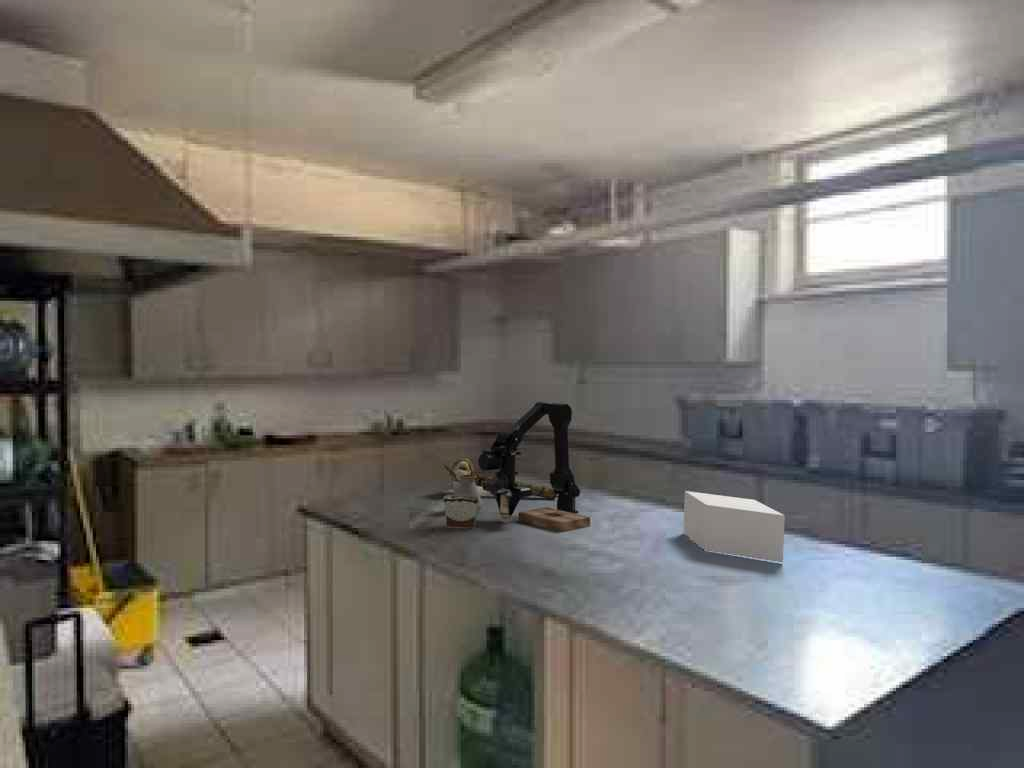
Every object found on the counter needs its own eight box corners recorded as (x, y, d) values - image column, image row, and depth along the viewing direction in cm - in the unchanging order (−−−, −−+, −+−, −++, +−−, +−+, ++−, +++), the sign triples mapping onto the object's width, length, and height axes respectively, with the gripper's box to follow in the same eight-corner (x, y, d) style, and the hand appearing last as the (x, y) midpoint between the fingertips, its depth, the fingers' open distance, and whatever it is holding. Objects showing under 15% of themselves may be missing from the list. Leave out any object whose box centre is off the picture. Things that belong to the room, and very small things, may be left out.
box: (706, 531, 250) (707, 488, 249) (806, 561, 215) (808, 512, 215) (659, 537, 240) (661, 493, 239) (757, 569, 205) (759, 518, 205)
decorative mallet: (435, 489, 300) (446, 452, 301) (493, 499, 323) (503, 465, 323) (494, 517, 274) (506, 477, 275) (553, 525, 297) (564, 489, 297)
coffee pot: (489, 512, 269) (490, 471, 268) (462, 516, 262) (463, 473, 261) (456, 502, 286) (456, 463, 285) (430, 505, 279) (430, 465, 278)
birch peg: (506, 519, 259) (506, 493, 258) (514, 521, 256) (515, 495, 255) (497, 521, 256) (497, 494, 255) (505, 523, 253) (506, 496, 252)
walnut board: (546, 515, 267) (547, 507, 266) (589, 526, 252) (590, 517, 252) (518, 520, 257) (518, 512, 257) (561, 532, 242) (561, 522, 242)
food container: (481, 524, 250) (482, 494, 250) (479, 528, 244) (479, 498, 244) (445, 523, 251) (445, 493, 251) (441, 527, 245) (442, 496, 245)
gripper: (471, 466, 256) (470, 512, 257) (508, 474, 243) (507, 522, 243) (495, 464, 264) (494, 508, 264) (533, 471, 250) (531, 517, 251)
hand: (506, 514), depth 256 cm, fingers closed on birch peg, 4 cm apart
